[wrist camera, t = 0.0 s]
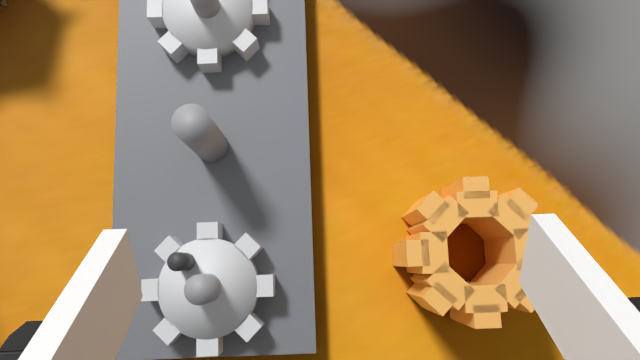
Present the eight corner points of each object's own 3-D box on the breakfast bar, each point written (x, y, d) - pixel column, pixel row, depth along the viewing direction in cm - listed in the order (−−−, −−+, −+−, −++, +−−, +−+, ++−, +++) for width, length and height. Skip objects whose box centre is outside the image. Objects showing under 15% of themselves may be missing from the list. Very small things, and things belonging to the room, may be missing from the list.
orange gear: (526, 315, 31) (565, 325, 27) (396, 320, 31) (411, 331, 26) (513, 187, 33) (548, 174, 28) (389, 191, 33) (402, 179, 28)
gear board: (316, 349, 31) (316, 373, 24) (118, 356, 31) (61, 383, 24) (303, -29, 35) (300, -101, 28) (128, -24, 35) (82, -95, 28)
